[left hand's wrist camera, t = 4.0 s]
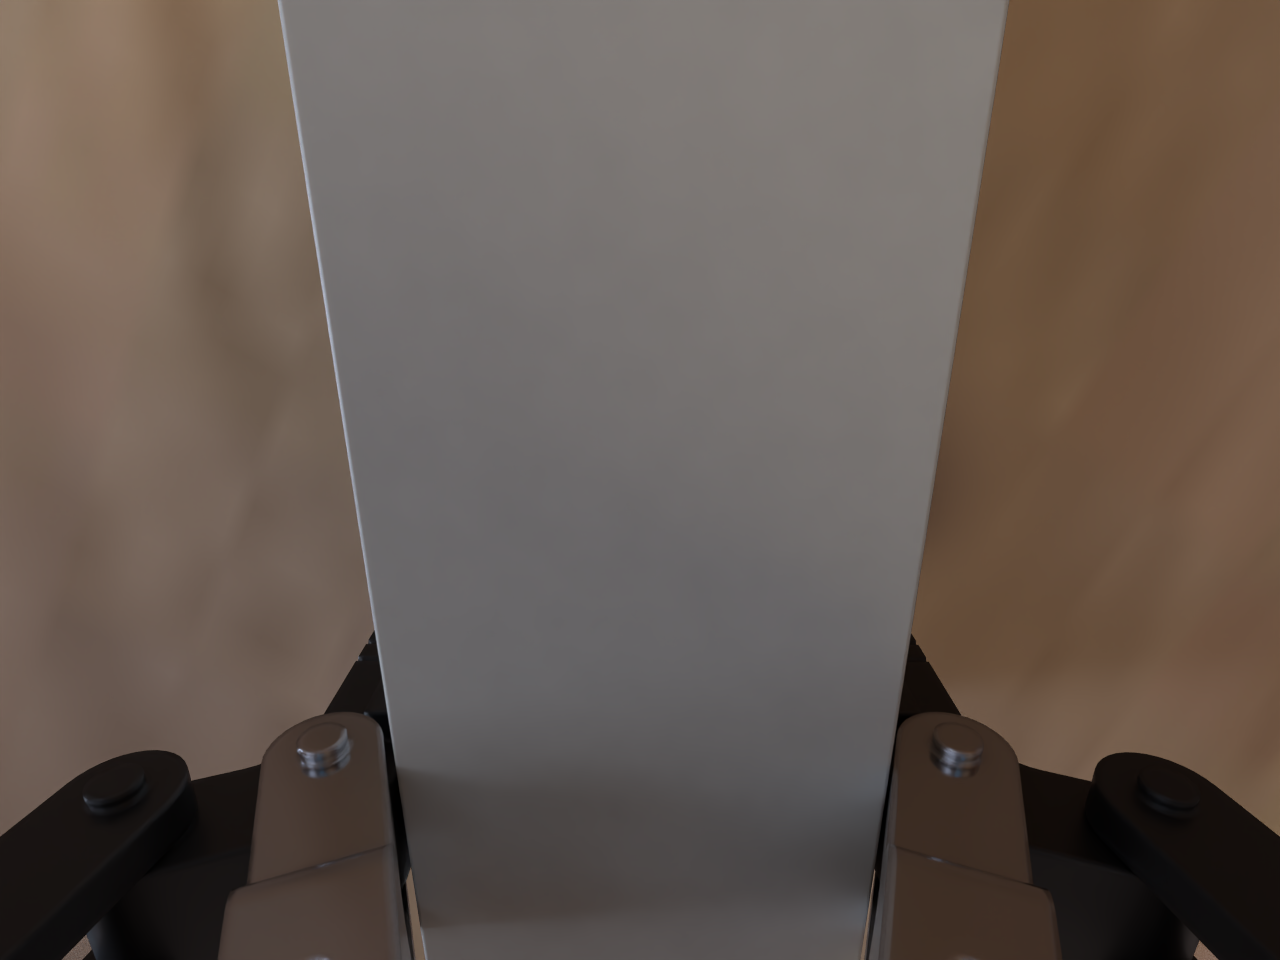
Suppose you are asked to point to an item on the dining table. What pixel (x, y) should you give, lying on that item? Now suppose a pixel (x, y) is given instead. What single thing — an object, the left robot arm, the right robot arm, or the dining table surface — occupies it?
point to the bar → (643, 439)
